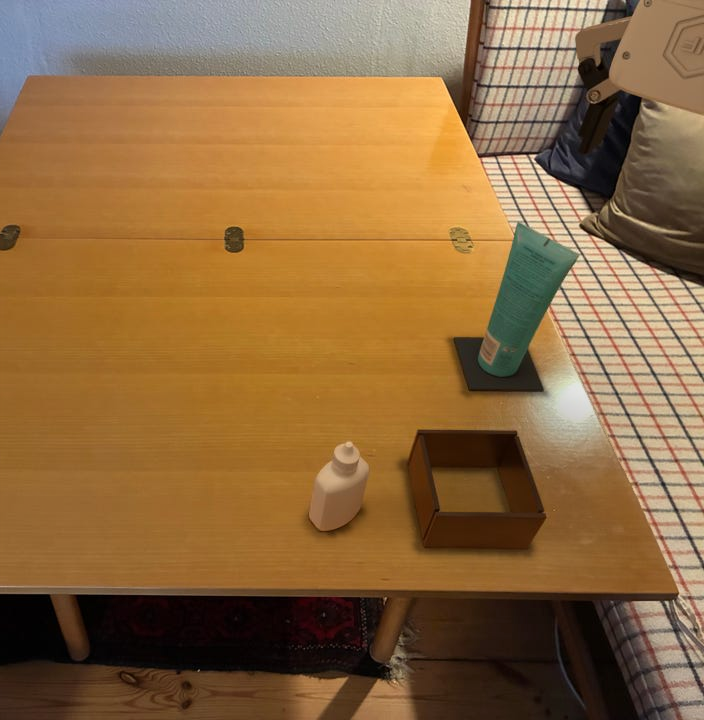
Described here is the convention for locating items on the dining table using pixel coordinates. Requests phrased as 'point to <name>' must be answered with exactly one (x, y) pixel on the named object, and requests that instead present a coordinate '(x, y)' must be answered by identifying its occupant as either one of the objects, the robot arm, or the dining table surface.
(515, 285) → the tube
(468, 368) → the mat
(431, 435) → the tube holder
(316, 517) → the eye dropper bottle
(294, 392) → the dining table surface
